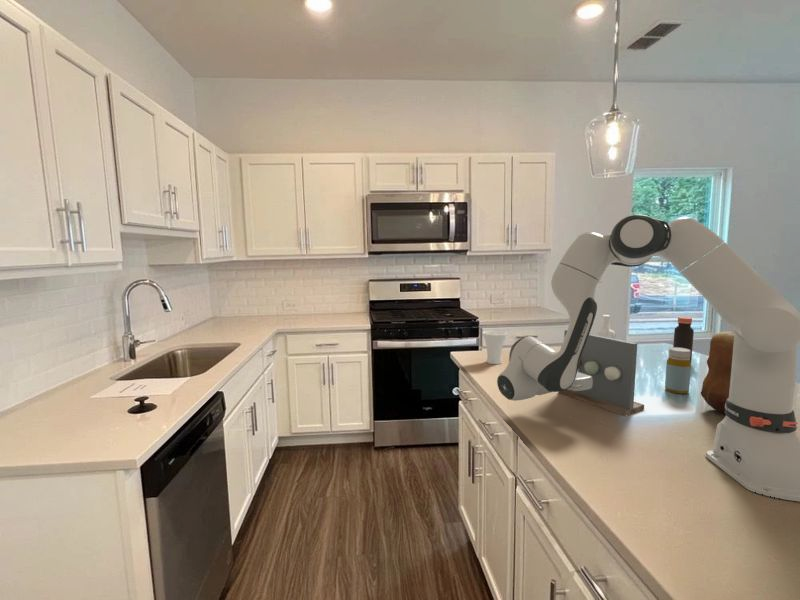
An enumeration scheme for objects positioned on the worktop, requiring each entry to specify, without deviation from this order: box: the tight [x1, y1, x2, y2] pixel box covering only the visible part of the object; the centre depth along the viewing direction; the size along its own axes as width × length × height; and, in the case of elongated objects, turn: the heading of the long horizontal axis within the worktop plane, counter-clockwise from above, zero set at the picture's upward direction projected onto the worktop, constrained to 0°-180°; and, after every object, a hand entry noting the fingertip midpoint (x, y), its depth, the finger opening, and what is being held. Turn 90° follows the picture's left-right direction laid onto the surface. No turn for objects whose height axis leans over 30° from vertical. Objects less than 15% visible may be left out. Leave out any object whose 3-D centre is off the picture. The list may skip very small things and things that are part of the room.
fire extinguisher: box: [596, 314, 617, 339], centre depth 154 cm, size 7×12×25 cm, turn 157°
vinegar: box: [672, 316, 695, 363], centre depth 175 cm, size 7×7×20 cm
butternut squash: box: [700, 331, 735, 414], centre depth 122 cm, size 14×13×25 cm
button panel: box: [558, 329, 645, 417], centre depth 134 cm, size 10×24×22 cm, turn 30°
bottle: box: [664, 346, 692, 395], centre depth 142 cm, size 7×7×15 cm
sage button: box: [584, 361, 600, 374], centre depth 132 cm, size 2×4×4 cm, turn 31°
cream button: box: [604, 366, 621, 380], centre depth 126 cm, size 2×4×4 cm, turn 30°
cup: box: [482, 329, 508, 365], centre depth 181 cm, size 10×10×14 cm
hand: (574, 370), depth 128 cm, fingers closed
